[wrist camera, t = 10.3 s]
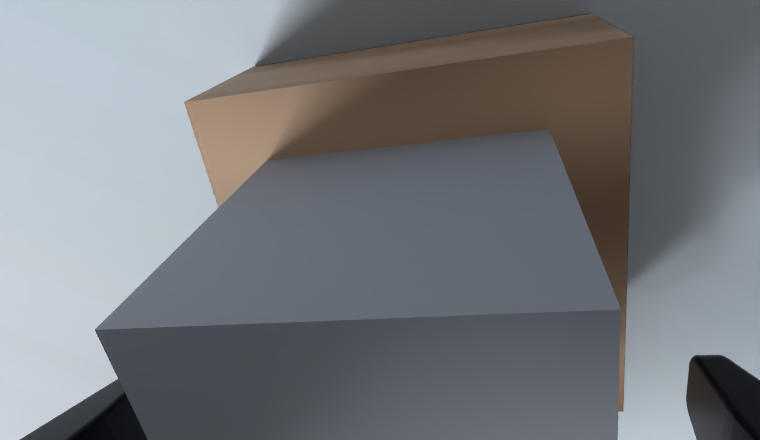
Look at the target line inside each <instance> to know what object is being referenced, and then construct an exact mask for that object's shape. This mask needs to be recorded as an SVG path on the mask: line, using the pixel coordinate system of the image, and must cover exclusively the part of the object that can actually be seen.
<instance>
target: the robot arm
mask: <svg viewBox="0 0 760 440" xmlns="http://www.w3.org/2000/svg"><path fill="white" fill-rule="evenodd" d="M686 401H687V408H688V413H689V416H690V420H691V423H692V426H693V429H694V432H695V436H696V439H697V440H760V380H759V379H757V378H756V377H754V376H753V375H751V374H750V373H749V372H747V371H746V370H744V369H743V368H741V367H740V366H738V365H737V364H735V363H734V362H733V361H731V360H730V359H728V358H726V357H725V356H722V355H696V356H694V357H692V358H691V361H690V364H689V374H688V384H687V395H686ZM20 440H148V439H147V437H146V435H145V433H144V431H143V429H142V427H141V424H140V422H139V420H138V418H137V416H136V414H135V412H134V410H133V408H132V406H131V404H130V402H129V400H128V398H127V395H126V393H125V391H124V389H123V387H122V385H121V383H120V381H119V379H117V380H116V381H114V382H112V383H111V384H109V385H107V386H106V387H104V388H103V389H101V390H99V391H98V392H96V393H94V394H93V395H91V396H90V397H88V398H86V399H85V400H83V401H82V402H80V403H78V404H77V405H75V406H73V407H72V408H70V409H69V410H67V411H65V412H64V413H62V414H61V415H59V416H57V417H56V418H54V419H52V420H51V421H49V422H48V423H46V424H44V425H43V426H41V427H40V428H38V429H36V430H35V431H33V432H31V433H30V434H28V435H27V436H25V437H23V438H22V439H20Z"/></svg>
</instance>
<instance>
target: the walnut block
mask: <svg viewBox="0 0 760 440" xmlns="http://www.w3.org/2000/svg"><path fill="white" fill-rule="evenodd" d="M633 39H634V37H633V36H631V35H630V34H628V33H626V32H624V31H622V30H621V29H619V28H617V27H615V26H613V25H611V24H610V23H608V22H606V21H604V20H602V19H601V18H599V17H597V16H595V15H593V14H586V15H580V16H573V17H567V18H561V19H554V20H548V21H542V22H535V23H529V24H523V25H516V26H510V27H504V28H497V29H491V30H485V31H478V32H472V33H465V34H459V35H453V36H446V37H440V38H434V39H427V40H421V41H415V42H408V43H402V44H396V45H389V46H383V47H377V48H370V49H364V50H357V51H351V52H345V53H338V54H332V55H326V56H319V57H313V58H307V59H300V60H294V61H288V62H281V63H275V64H269V65H262V66H256V67H252V68H250V69H248V70H246V71H244V72H242V73H240V74H238V75H236V76H234V77H233V78H231V79H229V80H227V81H225V82H223V83H221V84H219V85H217V86H215V87H213V88H211V89H209V90H207V91H205V92H203V93H201V94H199V95H197V96H196V97H194V98H192V99H190V100H188V101H186V102H184V103H185V107H186V110H187V113H188V116H189V119H190V122H191V125H192V128H193V131H194V134H195V137H196V140H197V143H198V146H199V149H200V152H201V155H202V158H203V161H204V164H205V168H206V171H207V174H208V177H209V180H210V183H211V186H212V189H213V192H214V195H215V198H216V201H217V204H218V207H220V206H221V205H222V204H223V203H224V202H225V201H226V200H227V199H228V198H229V197H230V196H231V195H232V194H233V193H234V192H235V191H236V190H237V189H238V188H239V187H240V186H241V185H242V184H243V183H244V182H245V181H246V180H247V179H248V178H249V177H250V176H251V175H252V174H253V173H254V172H255V171H256V170H257V169H258V168H259V167H260V166H261V165H262V164H264V163H265V162H266V161H267V160H275V159H284V158H293V157H302V156H311V155H320V154H329V153H338V152H347V151H356V150H365V149H374V148H383V147H392V146H401V145H410V144H419V143H428V142H437V141H446V140H455V139H464V138H473V137H482V136H491V135H500V134H509V133H518V132H527V131H536V130H545V129H550V132H551V134H552V137H553V139H554V142H555V144H556V147H557V150H558V152H559V155H560V157H561V160H562V162H563V165H564V167H565V170H566V172H567V175H568V177H569V180H570V182H571V185H572V187H573V190H574V192H575V195H576V197H577V200H578V202H579V205H580V207H581V210H582V213H583V215H584V218H585V220H586V223H587V225H588V228H589V230H590V233H591V235H592V238H593V240H594V243H595V245H596V248H597V250H598V253H599V255H600V258H601V260H602V263H603V265H604V268H605V270H606V273H607V276H608V278H609V281H610V283H611V286H612V288H613V291H614V293H615V296H616V298H617V301H618V303H619V306H620V308H621V326H620V363H619V399H618V411H623V403H624V367H625V330H626V294H627V258H628V221H629V185H630V148H631V112H632V76H633Z"/></svg>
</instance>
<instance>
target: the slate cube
mask: <svg viewBox="0 0 760 440" xmlns="http://www.w3.org/2000/svg"><path fill="white" fill-rule="evenodd" d="M620 326H621V308H620V306H619V303H618V301H617V298H616V296H615V293H614V291H613V288H612V286H611V283H610V281H609V278H608V276H607V273H606V270H605V268H604V265H603V263H602V260H601V258H600V255H599V253H598V250H597V248H596V245H595V243H594V240H593V238H592V235H591V233H590V230H589V228H588V225H587V223H586V220H585V218H584V215H583V213H582V210H581V207H580V205H579V202H578V200H577V197H576V195H575V192H574V190H573V187H572V185H571V182H570V180H569V177H568V175H567V172H566V170H565V167H564V165H563V162H562V160H561V157H560V155H559V152H558V150H557V147H556V144H555V142H554V139H553V137H552V134H551V132H550V129H545V130H536V131H527V132H518V133H509V134H500V135H491V136H482V137H473V138H464V139H455V140H446V141H437V142H428V143H419V144H410V145H401V146H392V147H383V148H374V149H365V150H356V151H347V152H338V153H329V154H320V155H311V156H302V157H293V158H284V159H275V160H267V161H266V162H265V163H264V164H262V165H261V166H260V167H259V168H258V169H257V170H256V171H255V172H254V173H253V174H252V175H251V176H250V177H249V178H248V179H247V180H246V181H245V182H244V183H243V184H242V185H241V186H240V187H239V188H238V189H237V190H236V191H235V192H234V193H233V194H232V195H231V196H230V197H229V198H228V199H227V200H226V201H225V202H224V203H223V204H222V205H221V206H220V207H219V208H218V209H217V210H216V211H215V212H214V213H213V214H212V215H211V216H210V217H209V218H208V219H207V220H206V221H205V222H204V223H203V224H202V225H201V226H200V227H199V228H198V229H197V230H196V231H195V232H194V233H193V234H192V235H191V236H190V237H188V238H187V239H186V240H185V241H184V242H183V243H182V244H181V245H180V246H179V247H178V248H177V249H176V250H175V251H174V252H173V253H172V254H171V255H170V256H169V257H168V258H167V259H166V260H165V261H164V262H163V263H162V264H161V265H160V266H159V267H158V268H157V269H156V270H155V271H154V272H153V273H152V274H151V275H150V276H149V277H148V278H147V279H146V280H145V281H144V282H143V283H142V284H141V285H140V286H139V287H138V288H137V289H136V290H135V291H134V292H133V293H132V294H131V295H130V296H129V297H128V298H127V299H126V300H125V301H124V302H123V303H122V304H121V305H120V306H119V307H118V308H117V309H116V310H115V311H113V312H112V313H111V314H110V315H109V316H108V317H107V318H106V319H105V320H104V321H103V322H102V323H101V324H100V325H99V326H98V327H97V328H96V329H95V331H96V333H97V335H98V337H99V340H100V342H101V344H102V346H103V348H104V350H105V352H106V354H107V356H108V358H109V360H110V362H111V364H112V366H113V369H114V371H115V373H116V375H117V377H118V379H119V381H120V383H121V385H122V387H123V389H124V391H125V393H126V395H127V398H128V400H129V402H130V404H131V406H132V408H133V410H134V412H135V414H136V416H137V418H138V420H139V422H140V424H141V427H142V429H143V431H144V433H145V435H146V437H147V439H148V440H617V436H618V399H619V363H620Z"/></svg>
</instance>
